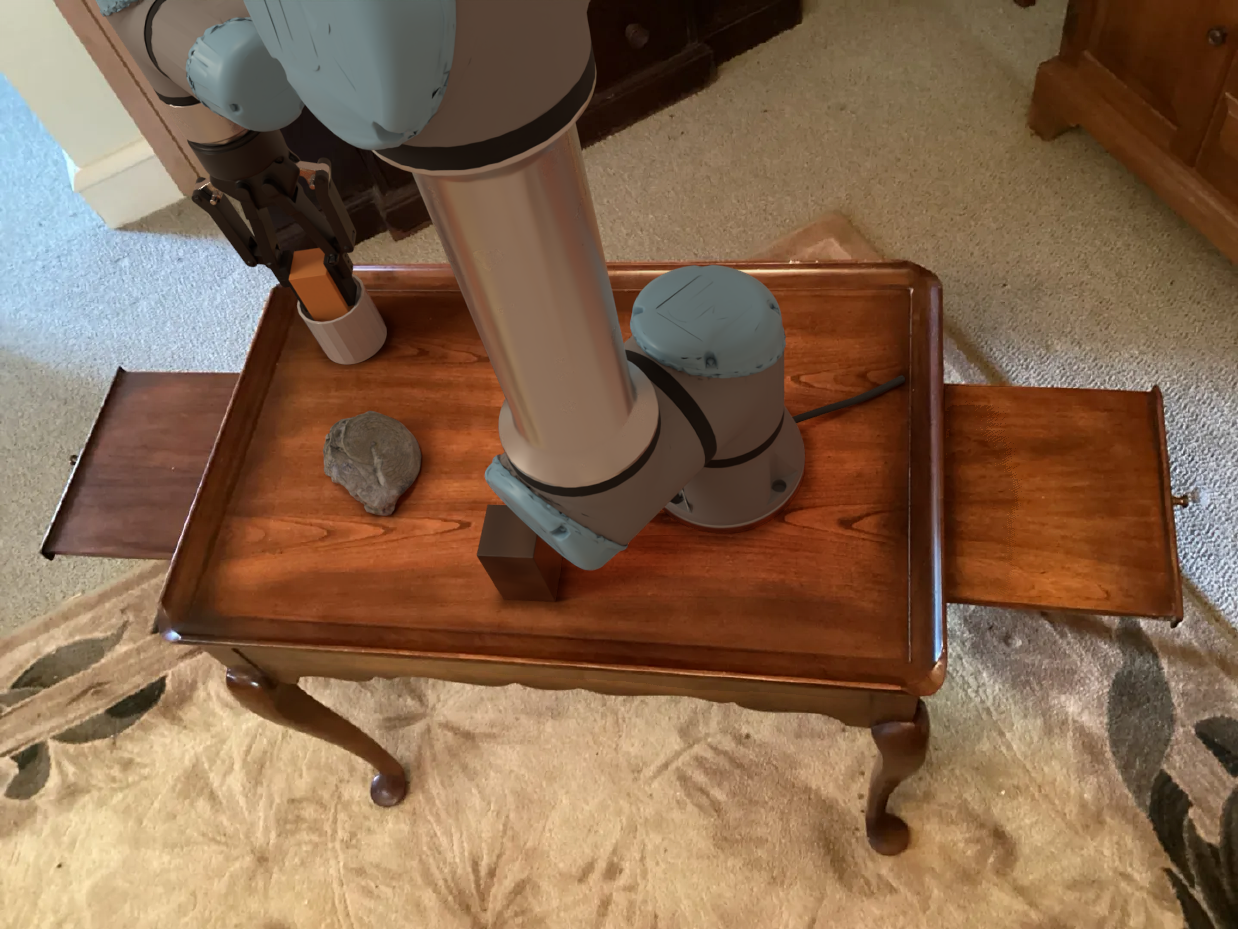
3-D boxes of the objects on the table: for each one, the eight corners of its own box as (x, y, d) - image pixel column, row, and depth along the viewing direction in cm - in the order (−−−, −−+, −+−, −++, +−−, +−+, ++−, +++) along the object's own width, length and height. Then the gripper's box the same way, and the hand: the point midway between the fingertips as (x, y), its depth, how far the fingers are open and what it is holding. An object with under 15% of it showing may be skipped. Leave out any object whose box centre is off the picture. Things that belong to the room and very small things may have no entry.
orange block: (356, 291, 105) (330, 245, 100) (352, 319, 103) (326, 274, 97) (321, 296, 106) (293, 251, 100) (316, 324, 104) (288, 279, 98)
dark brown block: (563, 552, 90) (542, 505, 83) (555, 602, 88) (533, 557, 80) (512, 551, 91) (487, 503, 84) (503, 599, 88) (476, 555, 81)
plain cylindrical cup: (389, 309, 110) (367, 266, 105) (384, 359, 106) (360, 318, 101) (328, 318, 111) (302, 276, 105) (320, 368, 107) (292, 327, 101)
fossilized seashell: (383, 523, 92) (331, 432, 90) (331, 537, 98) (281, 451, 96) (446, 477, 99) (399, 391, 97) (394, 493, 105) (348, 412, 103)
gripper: (323, 76, 85) (410, 262, 105) (142, 106, 87) (262, 284, 106) (312, 132, 81) (405, 315, 100) (123, 162, 83) (251, 336, 102)
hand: (331, 299), depth 103 cm, fingers closed on orange block, 4 cm apart
